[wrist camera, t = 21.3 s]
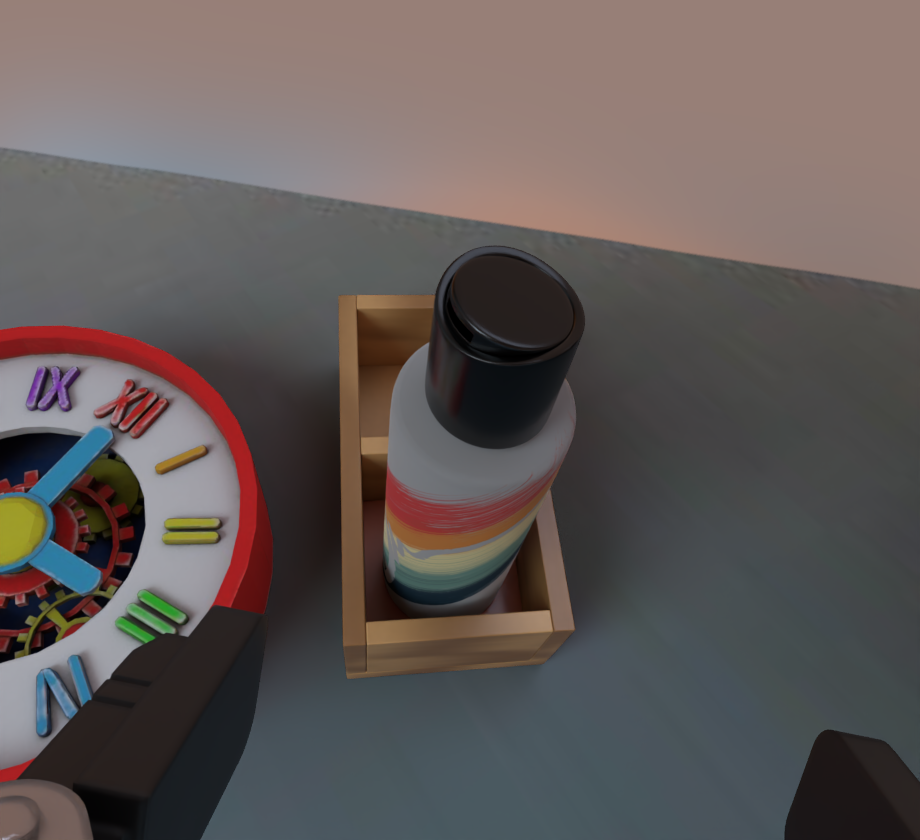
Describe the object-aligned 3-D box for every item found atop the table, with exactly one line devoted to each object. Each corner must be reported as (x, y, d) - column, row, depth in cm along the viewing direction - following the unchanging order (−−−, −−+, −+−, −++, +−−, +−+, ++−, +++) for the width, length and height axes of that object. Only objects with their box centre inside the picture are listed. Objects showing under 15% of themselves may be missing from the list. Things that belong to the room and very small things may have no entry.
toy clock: (-450, 617, 25) (1, 263, 35) (-315, 657, 30) (46, 336, 40) (-7, 942, 22) (350, 449, 32) (63, 926, 27) (352, 504, 37)
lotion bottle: (362, 543, 35) (358, 242, 18) (466, 498, 36) (553, 187, 19) (413, 651, 32) (464, 425, 15) (521, 598, 34) (675, 343, 17)
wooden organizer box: (498, 361, 43) (516, 294, 38) (544, 664, 34) (575, 630, 29) (341, 363, 41) (338, 294, 36) (346, 679, 32) (342, 646, 27)
